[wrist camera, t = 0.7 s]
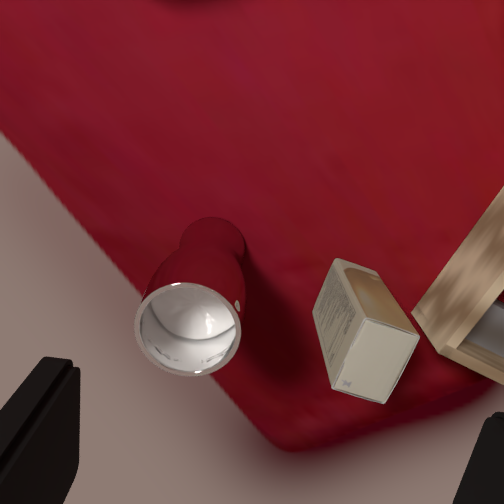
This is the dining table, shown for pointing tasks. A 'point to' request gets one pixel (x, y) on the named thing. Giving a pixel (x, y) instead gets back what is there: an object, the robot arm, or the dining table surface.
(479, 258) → the insert box
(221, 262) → the beer glass
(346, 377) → the skincare box
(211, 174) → the dining table surface
